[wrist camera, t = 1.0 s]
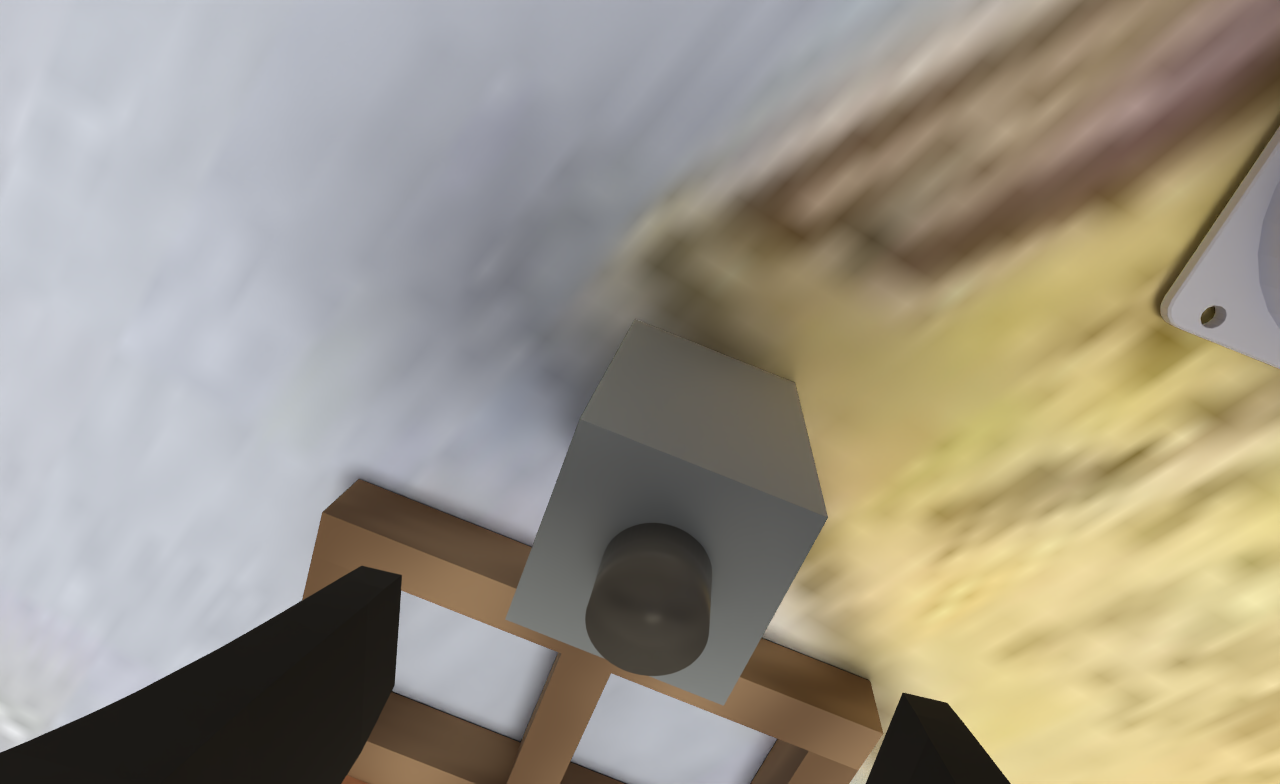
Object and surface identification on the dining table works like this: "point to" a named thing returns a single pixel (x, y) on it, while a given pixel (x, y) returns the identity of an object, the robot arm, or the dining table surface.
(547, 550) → the plug
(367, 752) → the socket board
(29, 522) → the dining table surface
